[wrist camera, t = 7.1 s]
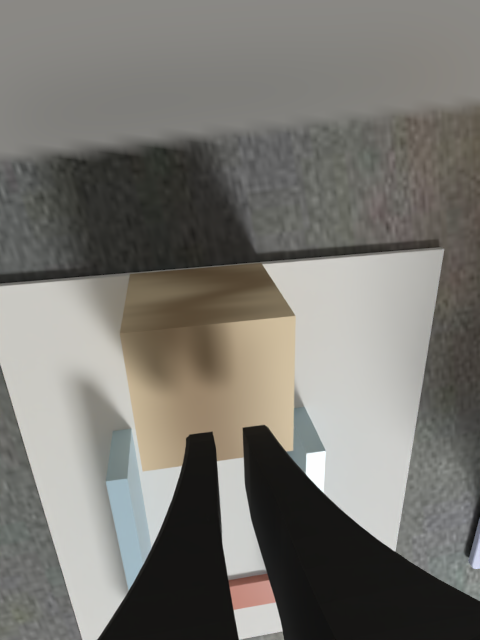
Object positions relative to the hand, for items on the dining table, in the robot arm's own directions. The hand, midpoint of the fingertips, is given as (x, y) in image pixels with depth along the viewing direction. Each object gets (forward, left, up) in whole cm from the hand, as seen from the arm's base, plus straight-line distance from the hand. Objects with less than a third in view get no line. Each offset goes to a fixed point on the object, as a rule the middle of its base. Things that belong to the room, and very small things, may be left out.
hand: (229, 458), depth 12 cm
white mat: (-1, +9, -7) cm, 11 cm away
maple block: (0, -1, -7) cm, 7 cm away
